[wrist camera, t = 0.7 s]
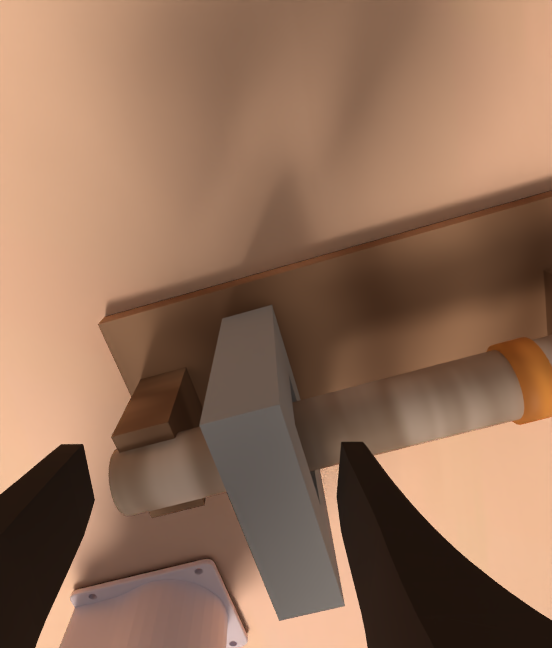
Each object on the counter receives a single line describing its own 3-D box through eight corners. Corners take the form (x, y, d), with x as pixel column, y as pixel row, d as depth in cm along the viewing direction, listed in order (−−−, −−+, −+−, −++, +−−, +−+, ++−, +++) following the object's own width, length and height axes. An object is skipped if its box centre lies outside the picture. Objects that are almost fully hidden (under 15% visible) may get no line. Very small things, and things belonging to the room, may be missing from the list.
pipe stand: (181, 486, 26) (154, 607, 20) (104, 317, 23) (36, 393, 16) (599, 381, 25) (730, 473, 18) (597, 177, 21) (763, 195, 14)
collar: (272, 463, 24) (279, 620, 16) (222, 318, 21) (199, 425, 13) (316, 452, 24) (344, 605, 16) (272, 304, 21) (279, 404, 13)
